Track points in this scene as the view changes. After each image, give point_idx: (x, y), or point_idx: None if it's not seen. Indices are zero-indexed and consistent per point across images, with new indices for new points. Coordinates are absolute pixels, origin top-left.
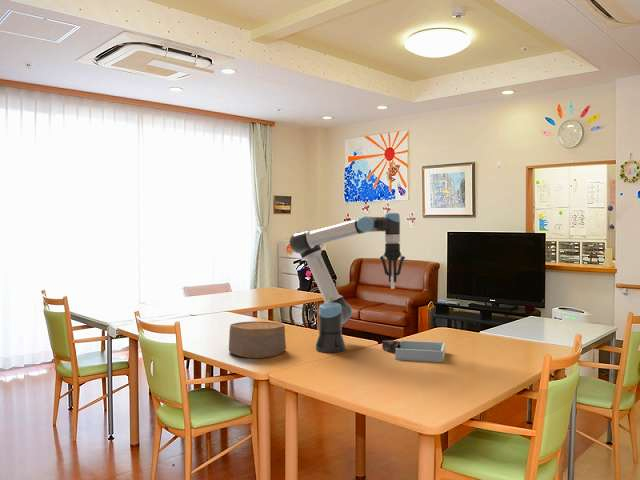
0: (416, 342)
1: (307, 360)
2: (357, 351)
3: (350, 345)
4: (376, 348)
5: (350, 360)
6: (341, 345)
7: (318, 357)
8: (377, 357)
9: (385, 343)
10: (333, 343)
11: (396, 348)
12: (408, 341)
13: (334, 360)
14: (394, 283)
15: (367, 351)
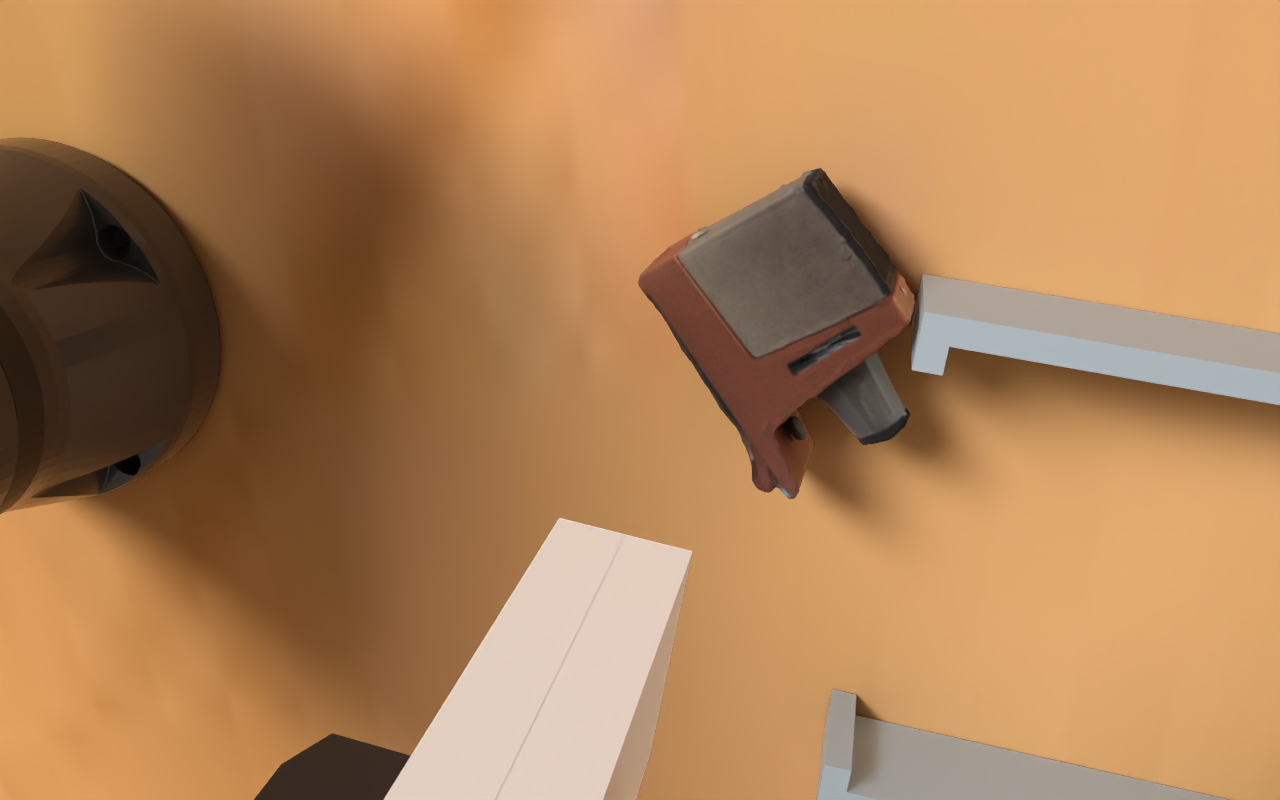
0: (1173, 382)
1: (10, 743)
2: (372, 376)
3: (223, 33)
4: (584, 190)
5: None
6: (161, 437)
7: (60, 643)
8: None
9: (692, 363)
10: (67, 499)
11: (831, 787)
12: (1044, 362)
13: (230, 749)
14: (638, 711)
15: (487, 370)
